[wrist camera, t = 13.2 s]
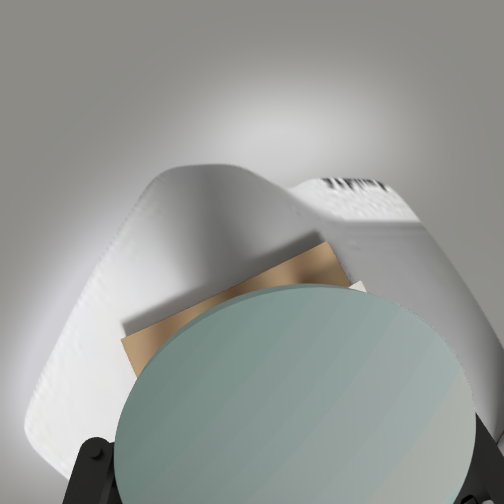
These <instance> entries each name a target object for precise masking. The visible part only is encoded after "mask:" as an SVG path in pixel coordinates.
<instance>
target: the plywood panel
mask: <svg viewBox="0 0 504 504" xmlns="http://www.w3.org/2000/svg"><path fill="white" fill-rule="evenodd" d="M289 284H328V285H336V286H342V287H347V288H348V287H350V286H352V285H351V283H350V282H349V280H348V278H347V276H346V274H345V272H344V271H343V269H342V267H341V265H340V263H339V261H338V260H337V258H336V256H335V254H334V252H333V251H332V249H331V247H330V245H329V244H328V242H327V241H326V242H324V243H322V244H320V245H318V246H316V247H314V248H312V249H310V250H308V251H306V252H304V253H302V254H300V255H298V256H296V257H294V258H292V259H289V260H287V261H285V262H283V263H281V264H279V265H277V266H275V267H273V268H271V269H269V270H267V271H265V272H263V273H261V274H259V275H257V276H255V277H253V278H251V279H249V280H246V281H244V282H242V283H240V284H238V285H236V286H234V287H232V288H230V289H228V290H226V291H224V292H221V293H219V294H217V295H215V296H213V297H211V298H209V299H207V300H205V301H203V302H200V303H198V304H196V305H194V306H192V307H190V308H188V309H186V310H183V311H181V312H179V313H177V314H175V315H173V316H171V317H168V318H166V319H164V320H162V321H160V322H158V323H155V324H153V325H151V326H149V327H147V328H145V329H142V330H140V331H138V332H136V333H134V334H131V335H129V336H127V337H125V338H123V339H121V342H122V344H123V346H124V349H125V351H126V354H127V356H128V358H129V361H130V363H131V365H132V367H133V370H134V372H135V374H136V376H137V378H138V377H139V375H140V373H141V372H142V370H143V368H144V367H145V366H146V364H147V363H148V361H149V360H150V359H151V357H152V356H153V355H154V354H155V352H156V351H157V350H158V349H159V348H160V347H161V346H162V345H163V344H164V343H165V342H166V341H167V340H168V339H169V338H170V337H171V336H172V335H173V334H174V333H175V332H177V331H178V330H179V329H180V328H181V327H183V326H184V325H185V324H187V323H188V322H189V321H191V320H192V319H194V318H195V317H197V316H198V315H200V314H202V313H203V312H205V311H207V310H209V309H210V308H212V307H214V306H216V305H218V304H220V303H222V302H225V301H227V300H229V299H232V298H234V297H237V296H240V295H243V294H246V293H249V292H252V291H256V290H260V289H264V288H269V287H274V286H281V285H289Z"/></svg>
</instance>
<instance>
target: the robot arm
mask: <svg viewBox="0 0 504 504" xmlns="http://www.w3.org/2000/svg"><path fill="white" fill-rule="evenodd" d="M475 416H476V433H475V443H474V449H473V455H472V459H471V463H470V466H469V469H468V472H467V475H466V478H465V480H464V483H463V485H462V487H461V489H460V492H459V493H458V495H457V497H456V499H455V501H454V503H453V504H504V433H503V435H502V437H501V438H500V440H499V442H498V444H497V445H496V443H495V441H494V440H493V438H492V437H491V435H490V433H489V432H488V430H487V429H486V427H485V426H484V424H483V423H482V421H481V420H480V418H479V417H478V415H477V413H476V412H475ZM114 444H115V442H112V443H109V442H108V441H107V440H105V439H103V438H100V437H93V438H90V439H88V440H86V441H85V442H84V443H83V444H82V446H81V448H80V450H79V453H78V456H77V459H76V462H75V465H74V468H73V471H72V474H71V477H70V480H69V483H68V487H67V490H66V493H65V497H64V500H63V503H62V504H123V503H122V500H121V497H120V494H119V491H118V487H117V483H116V477H115V470H114Z"/></svg>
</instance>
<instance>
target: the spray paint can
mask: <svg viewBox="0 0 504 504" xmlns="http://www.w3.org/2000/svg"><path fill="white" fill-rule="evenodd" d="M475 433H476V416H475V405H474V399H473V395H472V390H471V387H470V384H469V381H468V378H467V375H466V373H465V371H464V368H463V366H462V364H461V362H460V361H459V359H458V357H457V355H456V354H455V352H454V351H453V349H452V348H451V347H450V345H449V344H448V343H447V341H446V340H445V339H444V338H443V337H442V336H441V335H440V334H439V333H438V332H437V331H436V330H435V329H434V328H433V327H432V326H431V325H430V324H428V323H427V322H426V321H425V320H423V319H422V318H421V317H419V316H418V315H416V314H415V313H413V312H411V311H410V310H408V309H406V308H404V307H403V306H401V305H399V304H396V303H394V302H392V301H389V300H387V299H384V298H381V297H379V296H376V295H372V294H369V293H366V292H363V291H359V290H355V289H351V288H347V287H342V286H336V285H328V284H289V285H281V286H274V287H269V288H264V289H260V290H256V291H252V292H249V293H246V294H243V295H240V296H237V297H234V298H232V299H229V300H227V301H225V302H222V303H220V304H218V305H216V306H214V307H212V308H210V309H209V310H207V311H205V312H203V313H202V314H200V315H198V316H197V317H195V318H194V319H192V320H191V321H189V322H188V323H187V324H185V325H184V326H183V327H181V328H180V329H179V330H178V331H177V332H175V333H174V334H173V335H172V336H171V337H170V338H169V339H168V340H167V341H166V342H165V343H164V344H163V345H162V346H161V347H160V348H159V349H158V350H157V351H156V352H155V354H154V355H153V356H152V357H151V359H150V360H149V361H148V363H147V364H146V366H145V367H144V368H143V370H142V372H141V373H140V375H139V377H138V378H137V380H136V382H135V384H134V386H133V388H132V390H131V392H130V394H129V396H128V398H127V401H126V403H125V405H124V408H123V410H122V413H121V416H120V419H119V422H118V427H117V431H116V436H115V444H114V470H115V477H116V483H117V487H118V491H119V494H120V497H121V500H122V503H123V504H453V503H454V501H455V499H456V497H457V495H458V493H459V492H460V489H461V487H462V485H463V483H464V480H465V478H466V475H467V472H468V469H469V466H470V463H471V459H472V455H473V449H474V443H475Z"/></svg>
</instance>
